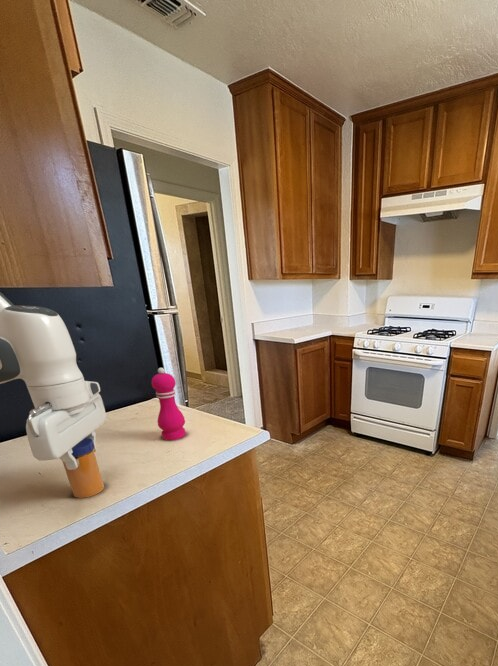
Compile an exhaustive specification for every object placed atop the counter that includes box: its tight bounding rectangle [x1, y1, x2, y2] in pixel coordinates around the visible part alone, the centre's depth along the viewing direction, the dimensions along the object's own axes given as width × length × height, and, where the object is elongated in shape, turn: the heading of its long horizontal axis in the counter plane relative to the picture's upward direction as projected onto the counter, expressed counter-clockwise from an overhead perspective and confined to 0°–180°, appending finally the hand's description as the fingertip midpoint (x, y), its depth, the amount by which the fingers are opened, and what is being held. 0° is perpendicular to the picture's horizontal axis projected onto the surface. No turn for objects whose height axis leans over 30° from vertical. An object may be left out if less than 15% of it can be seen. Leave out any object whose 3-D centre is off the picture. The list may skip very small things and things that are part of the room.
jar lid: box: [71, 438, 94, 457], centre depth 71 cm, size 6×6×2 cm
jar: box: [61, 450, 105, 499], centre depth 73 cm, size 6×6×10 cm
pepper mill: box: [151, 367, 186, 441], centre depth 98 cm, size 7×7×20 cm
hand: (83, 459), depth 73 cm, fingers closed on jar, 5 cm apart
